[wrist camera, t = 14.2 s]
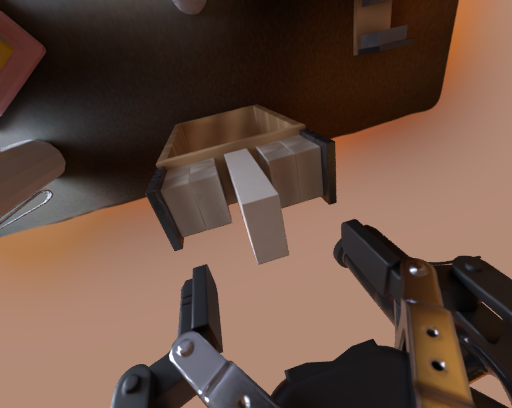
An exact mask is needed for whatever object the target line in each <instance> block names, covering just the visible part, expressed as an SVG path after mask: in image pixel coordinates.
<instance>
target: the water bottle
mask: <svg viewBox="0 0 512 408" xmlns="http://www.w3.org/2000/svg"><path fill="white" fill-rule="evenodd" d="M64 170H65V160H64V158H63V156H62V154H61V152H60V151H59V150H57V149H56V148H55V147H53V146H52V145H51V144H50V143H47V142H44V141H40V140H37V139H32V140H24V141H21V142H18V143H15V144H12V145H10V146H7V147H4V148H1V149H0V218H1V217H2V216H4V215H5V214H6V213H8V212H9V211H11V210H12V209H13V208H15V207H16V206H18V205H19V204H21V203H22V202H23V201H25V200H26V199H28V198H29V197H30V196H32V195H33V194H35V193H36V192H38V191H39V190H40V189H42V188H43V187H45V186H46V185H47V184H49V183H50V182H52V181H53V180H55V179H56V178H57V177H58V176H60V175H61V174H62V173H63V172H64ZM40 193H45V194H47V195H48V197H47V199H46V200H45V201H44V202H43V203H42V204H41V205H39V206H37V207H36V208H34V209H32V210H30V211H29V212H27V213H25V214H23V215H22V216H20V217H18V218H16V219H15V220H13V221H11V222H9V223H8V224H6V225H4V226H2V227H1V228H0V229H2V228H4V227H5V226H7V225H9V224H11V223H12V222H14V221H16V220H18V219H19V218H21V217H23V216H25V215H26V214H28V213H30V212H32V211H33V210H35V209H37V208H39V207H40V206H42V205H44V204H46V203H47V202H48V201H49V200H50V199H51V198H52V196H53V193H52V192H51V191H50V190H42V191H39V192H38V193H36V194H35V195H33V196H32V197H31V198H29V199H28V200H27V201H26V202H24V203H23V204H22V205H21V206H19V207H18V208H17V209H16V210H14V211H13V212H12V213H11V214H9V215H8V216H7V217H6V218H4V219H3V220H2V221H1V222H0V224H2V223H3V222H4V221H5V220H7V219H8V218H9V217H11V216H12V215H13V214H14V213H16V212H17V211H18V210H20V209H21V208H22V207H23V206H25V205H26V204H27V203H28V202H30V201H31V200H32V199H34V198H35V197H36V196H37V195H39V194H40Z"/></svg>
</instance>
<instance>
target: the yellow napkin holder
mask: <svg viewBox="0 0 512 408" xmlns="http://www.w3.org/2000/svg"><path fill="white" fill-rule="evenodd" d="M45 53H46V49H45V47H44V46H43V45H42V44H41V43H40V42H38V41H37V40H36V39H35V38H33V37H32V36H31V35H30V34H29V33H27V32H26V31H25V30H24V29H23V28H21V27H20V26H19V25H18V24H16V23H15V22H14V21H13V20H12V19H10V18H9V17H8V16H7V15H6V14H4V13H3V12H2V11H1V10H0V117H1V116H2V114H3V113H4V112H5V110H6V109H7V107H8V106H9V105H10V103H11V102H12V100H13V99H14V97H15V96H16V95H17V93H18V92H19V90H20V89H21V87H22V86H23V85H24V83H25V82H26V80H27V79H28V77H29V76H30V75H31V73H32V72H33V70H34V69H35V68H36V66H37V65H38V63H39V62H40V60H41V59H42V58H43V56H44V55H45Z"/></svg>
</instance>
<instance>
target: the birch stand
mask: <svg viewBox="0 0 512 408" xmlns="http://www.w3.org/2000/svg"><path fill="white" fill-rule="evenodd" d="M298 124H301V123H299V122H297V121H295V120H293V119H290V118H288V117H286V116H283V115H281V114H279V113H276V112H274V111H272V110H269V109H267V108H265V107H262V106H260V105H258V104H255V105H251V106H247V107H243V108H239V109H235V110H231V111H227V112H223V113H219V114H215V115H211V116H207V117H203V118H199V119H195V120H191V121H187V122H183V123H179V124H175V127H174V129H173V131H172V133H171V135H170V137H169V139H168V141H167V143H166V145H165V147H164V149H163V151H162V153H161V155H160V157H159V159H158V161H161V160H165V159H168V158H172V157H176V156H180V155H184V154H187V153H191V152H195V151H199V150H203V149H206V148H210V147H214V146H218V145H222V144H225V143H229V142H233V141H237V140H241V139H244V138H248V137H252V136H256V135H260V134H263V133H267V132H271V131H275V130H279V129H282V128H286V127H290V126H294V125H298Z"/></svg>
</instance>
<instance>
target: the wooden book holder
mask: <svg viewBox="0 0 512 408" xmlns="http://www.w3.org/2000/svg"><path fill="white" fill-rule="evenodd" d="M245 148H247V150H248V151H249V153H250V154H251V155H252V157H253V158H254V160H255V161H256V163H257V164H258V165H259V167H260V168H261V170H262V171H263V173H264V174H265V176H266V177H267V178H268V180H269V181H270V183H271V184H272V186H273V187H274V188H275V190H276V191H277V193H278V194H279V199H280V205H281V208H284V207H288V206H291V205H294V204H298V203H300V202H304V201H307V200H311V199H314V198H317V197H322V198H323V199H324V200H325V201H326V202H327V203H328V204H329V205H330V204H334V203H336V161H335V160H336V159H335V141H333V140H331V139H329V138H327V137H324V136H322V135H320V134H318V133H316V132H313V131H311V130H309V129H307V128H306V125H304V124H302V123H301V124H298V125H294V126H290V127H286V128H282V129H279V130H275V131H271V132H267V133H263V134H260V135H256V136H252V137H248V138H244V139H241V140H237V141H233V142H229V143H225V144H222V145H218V146H214V147H210V148H206V149H203V150H199V151H195V152H191V153H187V154H184V155H180V156H176V157H172V158H168V159H165V160H161V161H157V163H156V166H157V169H156V171H155V174H154V176H153V178H152V180H151V182H150V184H149V187H148V189H147V191H146V196H147V198H148V200H149V202H150V204H151V206H152V208H153V210H154V211H155V213H156V216H157V217H158V219H159V221H160V223H161V225H162V227H163V229H164V231H165V233H166V235H167V237H168V239H169V241H170V243H171V245H172V247H173V249H174V251H177V250H180V249H183V243H184V237H186V236H189V235H193V234H196V233H200V232H203V231H206V230H210V229H214V228H217V227H220V226H224V225H227V224H231V223H232V219H231V215H230V211H229V207H228V205H230V204H233V203H237V198H236V195H235V192H234V188H233V184H232V181H231V177H230V174H229V170H228V167H227V163H226V160H225V156H224V154H227V153H230V152H234V151H238V150H241V149H245Z"/></svg>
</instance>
